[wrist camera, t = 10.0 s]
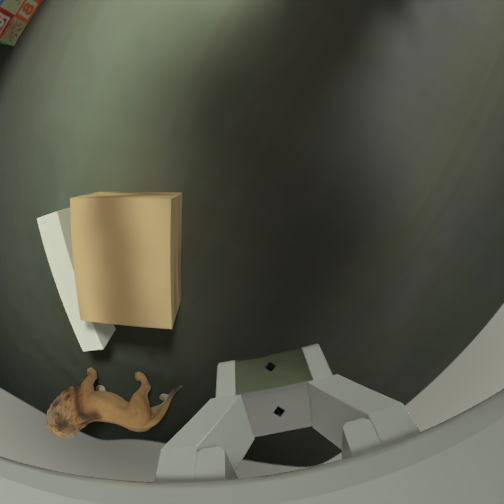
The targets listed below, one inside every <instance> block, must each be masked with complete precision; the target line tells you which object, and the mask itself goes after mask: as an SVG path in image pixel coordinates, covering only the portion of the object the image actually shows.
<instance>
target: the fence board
mask: <svg viewBox="0 0 504 504" xmlns="http://www.w3.org/2000/svg"><path fill="white" fill-rule="evenodd" d="M37 222H38V226H39V230H40V234H41V238H42V241H43V245H44V248H45V252H46V255H47V258H48V262H49V265H50V268H51V271H52V274H53V277H54V280H55V283H56V286H57V289H58V292H59V294H60V297H61V300H62V302H63V305H64V308H65V310H66V313H67V315H68V318H69V320H70V323H71V325H72V327H73V330H74V332H75V335H76V337H77V339H78V341H79V344H80V346H81V348H82V350H83V352H84V351H93V350H102V349H104V348H105V346H106V344H107V343H108V341H109V339H110V338H111V336H112V335H113V333H114V331H115V330H116V328H115V326H114V324H107V323H98V322H90V321H82V320H81V319H80V312H79V306H78V299H77V291H76V283H75V274H74V264H73V253H72V238H71V217H70V208H66V209H63V210H60V211H56V212H54V213H51V214H48V215H45V216H42V217H39V218H37Z"/></svg>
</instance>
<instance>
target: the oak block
mask: <svg viewBox="0 0 504 504" xmlns="http://www.w3.org/2000/svg"><path fill="white" fill-rule="evenodd" d="M70 217H71V238H72V253H73V264H74V274H75V283H76V291H77V299H78V306H79V312H80V319H81V320H82V321H90V322H98V323H107V324H117V325H127V326H137V327H149V328H162V329H172V328H173V325H174V321H175V318H176V315H177V311H178V308H179V305H180V302H181V222H182V193H171V192H96V193H91V194H87V195H82V196H78V197H73V198H70Z"/></svg>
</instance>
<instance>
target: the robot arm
mask: <svg viewBox="0 0 504 504" xmlns="http://www.w3.org/2000/svg"><path fill="white" fill-rule="evenodd" d="M310 426H312V427H313V428H314V429H315V430H317V431H318V432H319V433H320V434H322V435H323V436H324V437H326V438H327V439H328V440H330V441H331V442H332V443H333V444H335V445H336V446H337V447H339V448H340V449H341V450H342V460H338V461H334V462H330V463H326V464H322V465H318V466H314V467H309V468H305V469H301V470H295V471H290V472H284V473H279V474H273V475H266V476H260V477H252V478H244V479H238V477H237V475H236V473H235V470H236V469H237V467H238V466H239V464H240V462H241V461H242V459H243V457H244V456H245V454H246V452H247V451H248V449H249V447H250V446H251V444H252V442H253V441H254V439H255V438H254V437H258V436H263V435H269V434H274V433H278V432H283V431H289V430H295V429H300V428H305V427H310ZM0 504H504V389H502V390H501V391H499V392H498V393H496V394H495V395H493V396H491V397H489V398H488V399H486V400H484V401H482V402H481V403H479V404H477V405H475V406H473V407H472V408H470V409H468V410H466V411H464V412H462V413H460V414H458V415H457V416H454V417H453V418H451V419H448V420H446V421H444V422H442V423H440V424H438V425H436V426H433V427H431V428H429V429H427V430H424V431H422V432H420V431H419V429H418V427H417V426H416V424H415V422H414V421H413V419H412V417H411V416H410V414H409V413H408V411H407V409H406V408H405V406H404V405H403V403H401V402H399V401H396V400H394V399H391V398H389V397H387V396H385V395H382V394H380V393H378V392H375V391H373V390H371V389H369V388H366V387H364V386H362V385H360V384H357V383H355V382H353V381H351V380H349V379H347V378H344V377H342V376H340V375H338V374H337V375H332V372H331V370H330V368H329V366H328V364H327V361H326V359H325V357H324V355H323V352H322V350H321V348H320V346H319V345H318V344H314V345H310V346H306V347H302V348H300V349H295V350H291V351H286V352H282V353H277V354H272V355H265V356H259V357H253V358H246V359H240V360H236V361H235V360H233V361H227V362H220V363H219V364H218V366H217V383H216V398H212V399H210V400H209V401H208V402H207V403H206V404H205V405H204V406H203V407H202V408H201V409H200V410H199V411H198V412H197V413H196V414H195V416H194V417H193V418H192V419H191V420H190V421H189V422H188V423H187V424H186V425H185V426H184V427H183V428H182V429H181V430H180V431H179V432H178V433H177V434H176V435H175V436H174V437H173V438H172V439H171V440H170V441H168V442H167V443H166V444H165V445H164V446H163V448H161V452H160V457H159V462H158V467H157V472H156V478H155V482H136V481H121V480H111V479H102V478H94V477H87V476H80V475H74V474H69V473H63V472H58V471H53V470H48V469H44V468H40V467H36V466H32V465H28V464H24V463H20V462H17V461H13V460H10V459H7V458H3V457H0Z"/></svg>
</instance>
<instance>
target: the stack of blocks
mask: <svg viewBox="0 0 504 504" xmlns="http://www.w3.org/2000/svg"><path fill="white" fill-rule="evenodd" d="M42 1H43V0H0V43H2V44H6V45H10V46H14V45H15V44H16V42H17V40H18V38H19V37H20V35H21V33H22V31H23V30H24V28H25V26H26V25H27V24H28V22H29V21H30V19H31V18H32V16H33V15H34V13H35V11H36V10H37V8H38V7H39V6H40V4H41V2H42Z"/></svg>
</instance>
